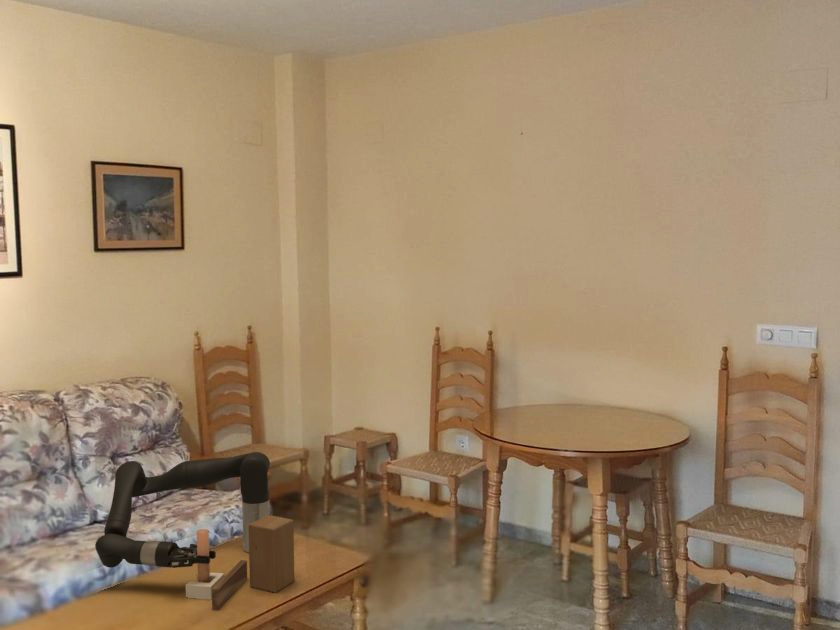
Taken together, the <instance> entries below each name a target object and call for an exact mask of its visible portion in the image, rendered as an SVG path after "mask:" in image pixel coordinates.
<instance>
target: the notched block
mask: <svg viewBox="0 0 840 630" xmlns="http://www.w3.org/2000/svg"><path fill="white" fill-rule="evenodd" d="M195 576H196V581H189V582H187V583H186V584H185V598H186V597H188V598H187V599H193V598H196V599H195V600H209V601H212V589H213V588H214V587H215V586H216V585H217V584H218V583H219V582H220V581H221V580H222V579H223V578H224V577H225V573H223V572H211V571H210V583H203V582H198V573H197V574H196V575H195Z"/></svg>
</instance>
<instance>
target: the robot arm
mask: <svg viewBox="0 0 840 630" xmlns="http://www.w3.org/2000/svg"><path fill="white" fill-rule="evenodd" d="M270 464H271V462H270V459H269V457H268V456H267V455H266V454H265V453H262V452H260V451H254V452H252V451H251V452H248V453H245V454H243V453H242V454H240V455H235V456H227V457H217V458H216V457H215V458H204V459H203V458H202V459H194V460H185V461H182V462H180V463H178V464H176V465H175V466H173V467H172V468H171V469H169V470H168V471H166V472H165V473H163V474H159V475H154V476H146V474H145V471H144V468H143V466H142V465H141V463H140V462H138V461H136V460H134V461H133V460H130V461H126V462H124V463H122V464H120V465H119V466H118V468H117V469H116V471H115V477H114V488H113V489H114V490H113V493H112V494H113V495H112V501H111V506H110V509H109V513H108V516H107V520H106V523H105V526H104V531H103V532H104V535H101V536H100V537H98V539H97V540H96V541H95V544H94V545H95V550H96V553H97V556H98V558H99V560H100V561H101V564H102V566H105V567H106V568H112V569H113V568H114V567H117V566H119V565H120V564H121V563H122V562H123V561H124V560H125V562H127V563H128V564H131V565H141V566H143V565H144V566H148V567H154V568H155V567H156V568H157V567H158V568H172V569H176V568H189V567H193V565H198V564H197V563H201V564H209V565H210V563H211V559H212V560H213V559H216V557H217V554H216V551H215V550H209V556H200V555H198V556H197V543H196V544H195V543H190V544H189V547H187V546H182V547H180V546H179V545H178V543H177V542H176V541H165V540H135V539H132V538H129V537H127V535H128V534H127V533H128V530H129V527H130V523H131V519H132V510H133V498H137V497H142V496H147V495H151V494H156V493H160V492H161V493H163V492H166V491H167V492H168V491H174V490H182V489H183V490H184V489H191V488H202V487H206V486H210V485H213V484H216V483H219V482H222V481H224V480H227V479H233V478H239V482H240V483H239V484H240V496H241V507H242V508H241V510H242V515H241V516H242V549H243V551H244V552H246V553H249V524H251V523H253V522H255V521H257V520H259V519H261V518H263V517H265V516H267V515H270V492H269V479H268V478H269V477H268V472H269V469H270V467H271V465H270Z"/></svg>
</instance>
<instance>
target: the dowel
mask: <svg viewBox="0 0 840 630" xmlns="http://www.w3.org/2000/svg"><path fill="white" fill-rule="evenodd" d="M209 536H210V535H209V529H206V528H205V529H203V528H201V529H199V530H197V531H196V545H197V556H198V555H200V556H209V551H210V537H209ZM196 565H197V574H198V582H203V583H210V572H211V571H210V570H211V569H210V568H211V567H210V563H209V564H201V563H197V564H196Z"/></svg>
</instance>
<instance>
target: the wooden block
mask: <svg viewBox="0 0 840 630" xmlns="http://www.w3.org/2000/svg"><path fill="white" fill-rule="evenodd" d="M294 533H295V531H294V519H290V518H285V517H281V516H275V515H272V514H271V515H267V516H265V517H263V518H261V519H259V520H257V521H255V522H253V523H251V524H249V552H248V554H249V555H248V558H249V559H248V560H249V563H248V564H249V587H251V588H254V589H258V590H262V591H266V592H271V593H277V592H279V591H280V590H282V589H284V588H286V587H287V586H289V585H290V584H292V583H294V582H295V542H294V541H295V540H294V539H295V538H294V535H295V534H294Z"/></svg>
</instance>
